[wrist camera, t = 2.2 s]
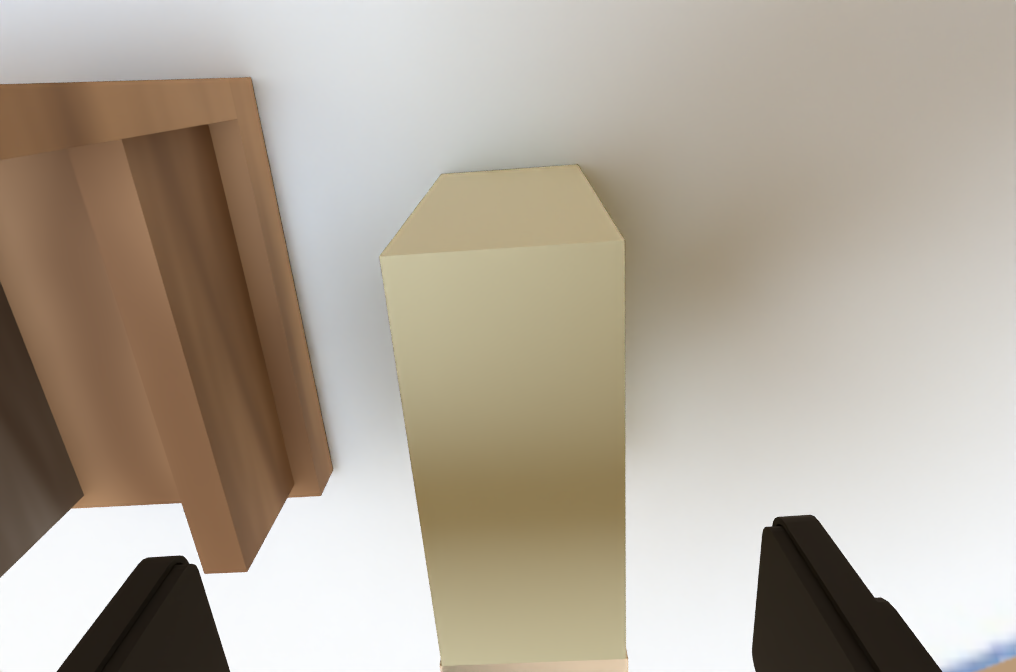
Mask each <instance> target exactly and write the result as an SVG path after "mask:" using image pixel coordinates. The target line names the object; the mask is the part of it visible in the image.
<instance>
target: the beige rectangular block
mask: <svg viewBox="0 0 1016 672" xmlns="http://www.w3.org/2000/svg"><path fill="white" fill-rule="evenodd" d="M379 258H380V264H381V271H382V278H383V284H384V291H385V297H386V304H387V310H388V317H389V323H390V330H391V336H392V343H393V349H394V356H395V362H396V369H397V375H398V382H399V388H400V395H401V402H402V408H403V415H404V421H405V428H406V434H407V441H408V447H409V454H410V460H411V467H412V473H413V480H414V486H415V493H416V499H417V506H418V512H419V519H420V526H421V532H422V539H423V545H424V552H425V558H426V565H427V571H428V578H429V584H430V591H431V597H432V604H433V610H434V617H435V623H436V630H437V636H438V643H439V650H440V656H441V661H440V671H441V672H628V656H627V650H626V562H625V240H624V238H623V237H622V235H621V233H620V232H619V230H618V229H617V227H616V225H615V224H614V222H613V221H612V219H611V217H610V216H609V214H608V212H607V211H606V209H605V208H604V206H603V204H602V203H601V201H600V200H599V198H598V196H597V195H596V193H595V191H594V190H593V188H592V187H591V185H590V183H589V182H588V180H587V179H586V177H585V175H584V174H583V172H582V171H581V169H580V167H579V166H578V164H575V165H561V166H547V167H533V168H519V169H505V170H491V171H477V172H463V173H449V174H441V175H440V176H439V178H438V179H437V180H436V182H435V183H434V184H433V186H432V187H431V188H430V190H429V191H428V192H427V194H426V195H425V196H424V198H423V199H422V200H421V202H420V203H419V204H418V206H417V207H416V208H415V210H414V211H413V212H412V214H411V215H410V216H409V218H408V219H407V220H406V222H405V223H404V224H403V226H402V227H401V228H400V230H399V231H398V232H397V234H396V235H395V236H394V238H393V239H392V240H391V242H390V243H389V244H388V246H387V247H386V248H385V250H384V251H383V252H382V254H381V255H380V256H379Z"/></svg>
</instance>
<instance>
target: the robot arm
mask: <svg viewBox="0 0 1016 672" xmlns="http://www.w3.org/2000/svg"><path fill="white" fill-rule="evenodd" d="M752 657H753V663H754V667H755V671H756V672H942V671H941V669H940V668H939V667H938V665H937V664H936V663H935V661H934V660H933V659H932V657H931V656H930V655H929V653H928V652H927V651H926V649H925V648H924V647H923V645H922V644H921V643H920V641H919V640H918V639H917V637H916V636H915V635H914V633H913V632H912V631H911V629H910V628H909V627H908V625H907V624H906V623H905V621H904V620H903V619H902V617H901V616H900V615H899V613H898V612H897V611H896V609H895V608H894V607H893V606H892V605H891V604H890V603H889V602H888V601H886V600H884V599H883V598H874V596H873V595H872V594H871V592H870V591H869V589H868V588H867V587H866V585H865V584H864V583H863V581H862V580H861V578H860V577H859V576H858V574H857V573H856V572H855V570H854V569H853V567H852V566H851V565H850V563H849V562H848V561H847V559H846V558H845V556H844V555H843V554H842V552H841V551H840V550H839V548H838V547H837V545H836V544H835V543H834V541H833V540H832V539H831V537H830V536H829V534H828V533H827V532H826V530H825V529H824V528H823V526H822V525H821V523H820V522H819V521H818V520H817V519H816V517H815V516H812V515H800V516H785V517H777V518H775V519H774V521H773V525H772V527H765V528H764V529H763V533H762V543H761V554H760V565H759V576H758V588H757V599H756V610H755V622H754V633H753V644H752ZM57 672H230V670H229V667H228V663H227V660H226V657H225V654H224V651H223V647H222V644H221V641H220V638H219V634H218V631H217V628H216V625H215V622H214V618H213V615H212V612H211V609H210V606H209V602H208V599H207V596H206V593H205V589H204V586H203V583H202V580H201V577H200V573H199V570H198V568H197V566H196V565H194V564H189V563H188V561H187V559H186V558H185V557H184V556H165V557H149V558H146V559H143V560H142V561H141V562H140V563H139V564H138V565H137V567H136V568H135V569H134V571H133V572H132V573H131V575H130V576H129V577H128V578H127V580H126V581H125V582H124V584H123V585H122V586H121V588H120V589H119V590H118V592H117V593H116V594H115V596H114V597H113V598H112V600H111V601H110V602H109V603H108V605H107V606H106V607H105V609H104V610H103V611H102V613H101V614H100V615H99V617H98V618H97V619H96V621H95V622H94V623H93V625H92V626H91V627H90V628H89V630H88V631H87V632H86V634H85V635H84V636H83V638H82V639H81V640H80V642H79V643H78V644H77V646H76V647H75V648H74V649H73V651H72V652H71V653H70V655H69V656H68V657H67V659H66V660H65V661H64V663H63V664H62V665H61V667H60V668H59V669H58V671H57Z"/></svg>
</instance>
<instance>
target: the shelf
mask: <svg viewBox="0 0 1016 672" xmlns="http://www.w3.org/2000/svg"><path fill="white" fill-rule="evenodd" d="M332 471H333V468H332V463H331V458H330V453H329V449H328V444H327V439H326V434H325V429H324V425H323V420H322V415H321V410H320V405H319V401H318V396H317V391H316V386H315V382H314V377H313V372H312V367H311V362H310V358H309V353H308V348H307V343H306V339H305V334H304V329H303V324H302V319H301V315H300V310H299V305H298V300H297V296H296V291H295V286H294V281H293V276H292V272H291V267H290V262H289V257H288V253H287V248H286V243H285V238H284V233H283V229H282V224H281V219H280V214H279V210H278V205H277V200H276V195H275V190H274V186H273V181H272V176H271V171H270V167H269V162H268V157H267V152H266V147H265V143H264V138H263V133H262V128H261V123H260V119H259V114H258V109H257V104H256V100H255V95H254V90H253V85H252V80H251V77H245V78H209V79H174V80H138V81H103V82H67V83H32V84H0V577H1V576H2V575H3V574H4V573H6V572H7V571H8V570H9V569H10V568H11V567H12V566H13V565H14V564H15V563H16V562H17V561H18V560H19V559H20V558H21V557H22V556H23V555H24V554H25V553H26V552H27V551H28V550H29V549H30V548H31V547H32V546H33V545H34V544H35V543H36V542H37V541H38V540H39V539H40V538H41V537H42V536H43V535H44V534H45V533H46V532H47V531H48V530H49V529H50V528H52V527H53V526H54V525H55V524H56V523H57V522H58V521H59V520H60V519H61V518H62V517H63V516H64V515H65V514H66V513H67V512H68V511H69V510H70V509H71V508H91V507H111V506H130V505H150V504H170V503H182V506H183V509H184V512H185V515H186V518H187V521H188V524H189V528H190V531H191V534H192V537H193V540H194V543H195V546H196V549H197V552H198V555H199V558H200V561H201V565H202V568H203V571H204V574H211V573H233V572H247V571H248V570H249V568H250V566H251V564H252V562H253V560H254V558H255V557H256V555H257V553H258V551H259V549H260V547H261V546H262V544H263V542H264V540H265V538H266V536H267V534H268V533H269V531H270V529H271V527H272V525H273V523H274V522H275V520H276V518H277V516H278V514H279V512H280V510H281V509H282V507H283V505H284V503H285V501H286V499H287V498H290V497H309V496H321V495H322V493H323V490H324V488H325V486H326V484H327V482H328V480H329V478H330V475H331V473H332Z"/></svg>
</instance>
